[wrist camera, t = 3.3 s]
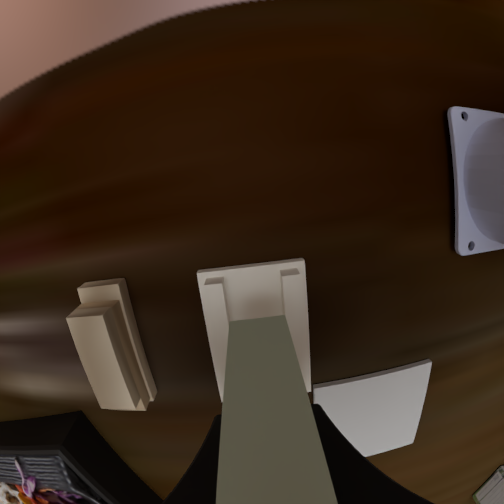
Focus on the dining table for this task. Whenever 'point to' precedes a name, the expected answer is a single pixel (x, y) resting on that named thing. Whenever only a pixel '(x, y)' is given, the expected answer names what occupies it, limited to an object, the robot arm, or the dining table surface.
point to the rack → (255, 305)
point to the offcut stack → (111, 346)
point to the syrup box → (491, 489)
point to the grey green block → (268, 422)
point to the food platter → (64, 465)
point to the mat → (377, 406)
